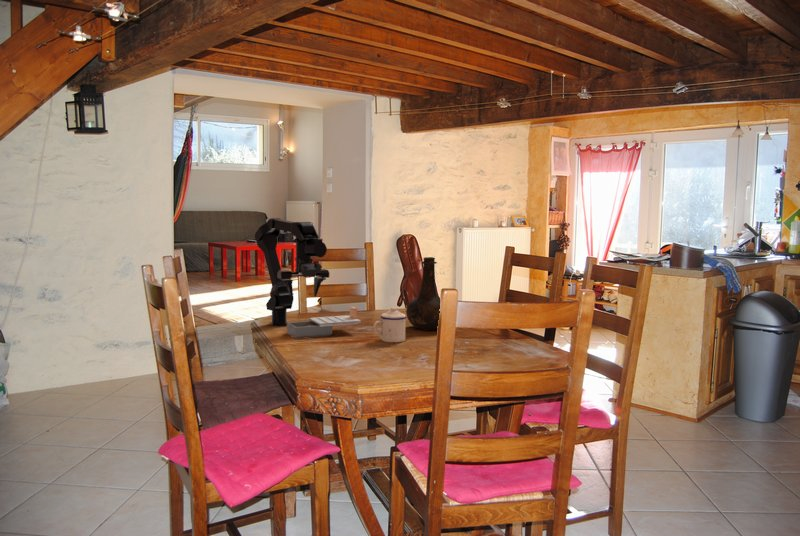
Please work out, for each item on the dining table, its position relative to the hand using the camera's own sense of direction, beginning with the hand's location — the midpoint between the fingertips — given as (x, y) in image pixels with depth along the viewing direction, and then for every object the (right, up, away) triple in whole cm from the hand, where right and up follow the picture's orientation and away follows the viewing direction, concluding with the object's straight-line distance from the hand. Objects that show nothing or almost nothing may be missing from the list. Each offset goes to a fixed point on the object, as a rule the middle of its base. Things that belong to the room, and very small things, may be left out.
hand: (303, 296), depth 239 cm
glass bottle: (+48, -13, +11) cm, 51 cm away
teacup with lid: (+32, -15, -12) cm, 38 cm away
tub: (+3, -14, -5) cm, 15 cm away
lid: (+12, -10, -1) cm, 15 cm away
